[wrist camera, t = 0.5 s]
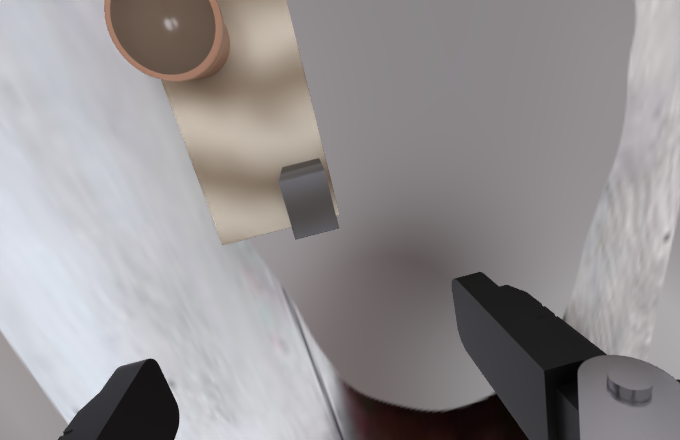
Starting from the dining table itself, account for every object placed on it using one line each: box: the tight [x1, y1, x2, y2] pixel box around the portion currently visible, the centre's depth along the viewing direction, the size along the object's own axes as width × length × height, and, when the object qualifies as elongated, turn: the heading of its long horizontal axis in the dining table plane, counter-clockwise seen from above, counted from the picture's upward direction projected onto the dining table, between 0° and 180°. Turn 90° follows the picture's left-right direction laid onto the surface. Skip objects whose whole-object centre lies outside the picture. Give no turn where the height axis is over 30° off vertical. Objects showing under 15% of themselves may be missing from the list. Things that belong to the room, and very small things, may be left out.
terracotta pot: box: [104, 0, 230, 82], centre depth 22 cm, size 6×6×6 cm
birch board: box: [161, 0, 339, 245], centre depth 23 cm, size 24×10×7 cm, turn 14°
